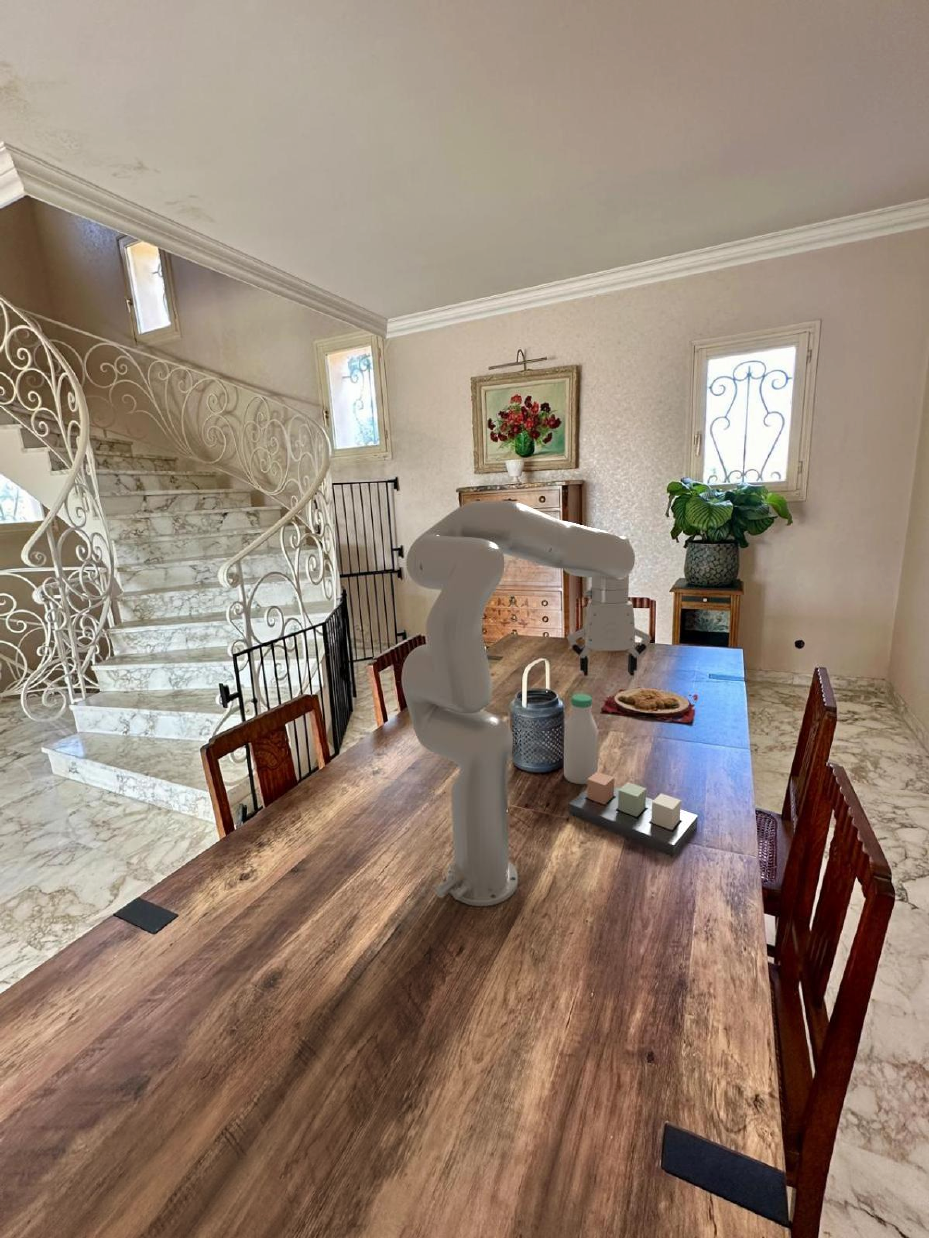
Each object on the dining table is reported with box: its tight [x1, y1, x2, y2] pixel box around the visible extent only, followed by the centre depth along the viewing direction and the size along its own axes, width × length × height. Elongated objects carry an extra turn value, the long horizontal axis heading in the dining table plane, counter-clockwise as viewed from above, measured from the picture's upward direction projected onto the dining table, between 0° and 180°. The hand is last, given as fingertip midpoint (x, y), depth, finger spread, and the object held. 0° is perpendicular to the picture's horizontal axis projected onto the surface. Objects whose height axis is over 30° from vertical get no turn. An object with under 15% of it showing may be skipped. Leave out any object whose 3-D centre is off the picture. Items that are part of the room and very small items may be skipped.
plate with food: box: [600, 686, 699, 723], centre depth 173 cm, size 24×26×4 cm
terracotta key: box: [586, 771, 615, 806], centre depth 118 cm, size 4×4×4 cm
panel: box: [568, 785, 698, 858], centre depth 114 cm, size 12×22×3 cm, turn 48°
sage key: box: [618, 781, 647, 818], centre depth 113 cm, size 4×4×4 cm
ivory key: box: [651, 793, 682, 831], centre depth 108 cm, size 4×4×4 cm
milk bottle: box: [563, 693, 599, 785], centre depth 129 cm, size 8×8×20 cm
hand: (607, 673), depth 121 cm, fingers open, 9 cm apart
